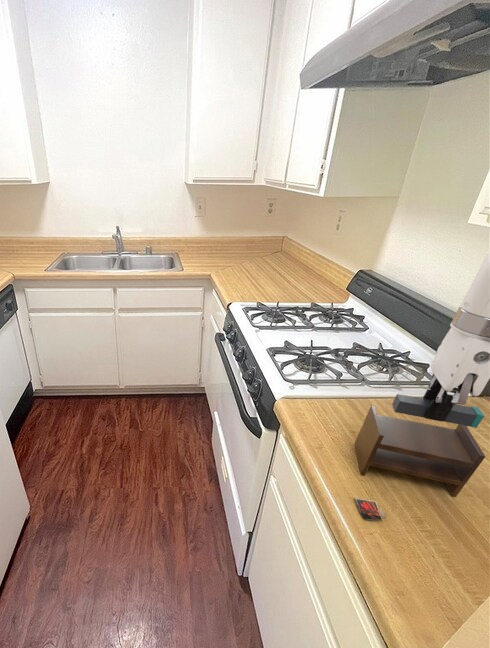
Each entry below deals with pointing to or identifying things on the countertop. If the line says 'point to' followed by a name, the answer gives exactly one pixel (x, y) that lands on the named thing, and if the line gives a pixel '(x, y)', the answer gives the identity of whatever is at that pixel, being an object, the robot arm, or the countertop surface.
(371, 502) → the matchbox
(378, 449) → the desk shelf
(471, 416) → the marker pen
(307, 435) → the countertop surface
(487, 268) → the robot arm
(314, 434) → the countertop surface
